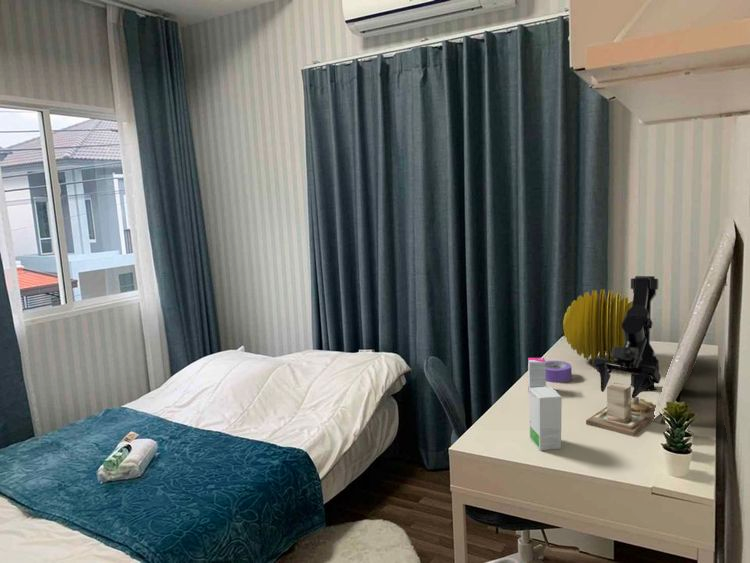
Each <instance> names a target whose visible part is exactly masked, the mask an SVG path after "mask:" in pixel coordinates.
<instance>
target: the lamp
mask: <svg viewBox="0 0 750 563" xmlns="http://www.w3.org/2000/svg"><path fill="white" fill-rule="evenodd" d="M599 291H600V292H599V295H598V292H597V289H592V291H591V295H590V293H589V291H587V292H584V294H583V296H582V295H581V294H580V295H578V296H577V299H576V300H575V299H574V300H573V301H571V304H570V305H569V306H568V307H567V309H566V312H565V313H564V316H563V322H562V328H563V329H562V330H563V334H564V337H565V338H566V342H567V343H568V345H570V348H571V350H573V351H575V350H576V354H577V355H578V356H580V357H581V356H582V355H583V359H585V360H586V361H587V360H589V359H590V358H591V362H592V363H593V360H594V359H595V358H596V357H598V356H599V358H606V356H607V359H608V361H609V362H610V363H611V364H614V363H613V362H614V358H613V357H611V353H612V347H618V348H621V347H623V346H624V343H625V338H624V333H623V329H622V322H623V319H624V317H626V314H627V310H629V309H630V308H631V307H632V303H633V300H631V301H630V302H629V297H628V296H627V295H624V297H623V298H622V293H621V292H619V291H617V293H615V296H614V290H613V289H612V290H611V289H609V290H608V293H607V295H606V290H605V289H603V288H601V289H600V290H599ZM606 296H607V297H606Z"/></svg>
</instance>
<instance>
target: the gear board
mask: <svg viewBox="0 0 750 563" xmlns="http://www.w3.org/2000/svg"><path fill="white" fill-rule="evenodd" d="M656 405H657V404H654V402H651V401H646V400H645V399H644V398H640V397H638V396H636V397H635V398H632V397H631V414H632V421H630V422H627V423H619V422H615V421H611V420H608V419H607V406H606V407H604V408H602V409H601V410H600V411H598V412H596V413H595V414H593V415H592V416H590V417H589V418H587V419H586V420H585V424H586V425H588V426H592V427H597V428H601V429H605V430H608V431H611V432H614V433H615V432H616V433H619V434H623V435H626V436H631V437H634V436H635V435H637V434H638V433H639V432H641V431H642V430H643V429H644V428H646V427H647V426H648V425H649V424H650V423H652V422H654V420H655V419H654V417H655V415H654V411H655V408H656ZM653 419H654V420H653Z"/></svg>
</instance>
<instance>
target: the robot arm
mask: <svg viewBox="0 0 750 563" xmlns="http://www.w3.org/2000/svg"><path fill="white" fill-rule="evenodd" d="M659 287H660V285H659V279H658V278H655V276H653V275H651V276H649V275H647V276H646V275H636V276H635V277H633V278H630V290H632V292H633V293H632V294H633V298H632V301H633V303H632V307H631V308H630V309H629V310H627V314H626V317H624V319H623V322H622V329H623V333H624V338H625V343H624V346H623V347H621V348H618V347H612V353H611V357H613V362H614V363H612V362H611V361H610V362H609V361H608V358H606V357H605V358H600V357H596V358H595V359H594V360H593V362H592V363H591V364H592V366H593V368H594V369H595V370H596V371H597V373H599V376H600V378H599V379H600V391H601V392H602V393H603V392H605V390H606V389H607V387H608V386H607V385H608V383H609V381H610V379H611V373H612V371H614V372H615V371H616V372H621V373H627V374H630V385H629V386H631V388H633V390H632V392H631V398H632V399H633V398H635V397H638V395H639V394H640V393H642V392H644V391H656V390H657V387H655V384H660V382H661V379H662V378H661V377H662V376H661V374H660V365H659V364H660V363H659V360H658V358H657V355H655V354H656V353H655V350H654V348H653V346H652V345H651V343H650V342H651V330H652V328H653V324H654V322H653V321H652V318H651V317H652V316H651V315H652V312H651V311H652V310H651V309H652V301H653V300H654V299H655V297H656V296H657V290H659ZM615 363H616V364H615Z"/></svg>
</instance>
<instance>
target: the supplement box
mask: <svg viewBox="0 0 750 563" xmlns="http://www.w3.org/2000/svg"><path fill="white" fill-rule="evenodd" d="M527 360H528V361H527V364H528V365H527V371H528V372H527V373H528V376H527V378H528V394H530V389H529V388H536V387H547V384H546V382H547V381H546V362H545V361H546V360H545V357H528V358H527Z"/></svg>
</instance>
